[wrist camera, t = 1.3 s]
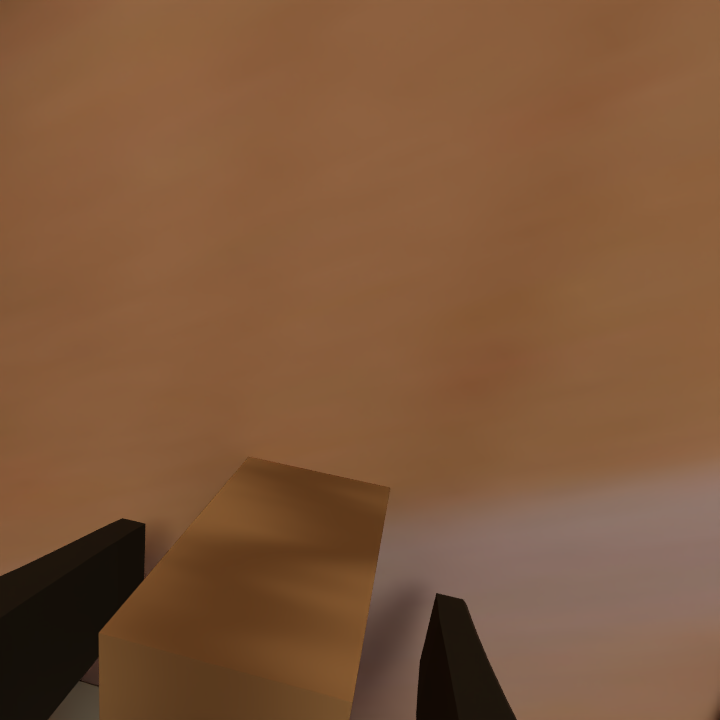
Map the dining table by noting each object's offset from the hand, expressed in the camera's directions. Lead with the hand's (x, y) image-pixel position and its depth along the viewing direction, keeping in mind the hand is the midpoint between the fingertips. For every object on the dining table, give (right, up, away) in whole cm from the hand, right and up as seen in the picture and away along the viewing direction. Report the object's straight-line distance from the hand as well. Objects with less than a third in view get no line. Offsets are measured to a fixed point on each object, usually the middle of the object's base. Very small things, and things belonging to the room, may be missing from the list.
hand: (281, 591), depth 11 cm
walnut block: (0, 0, +2) cm, 2 cm away
